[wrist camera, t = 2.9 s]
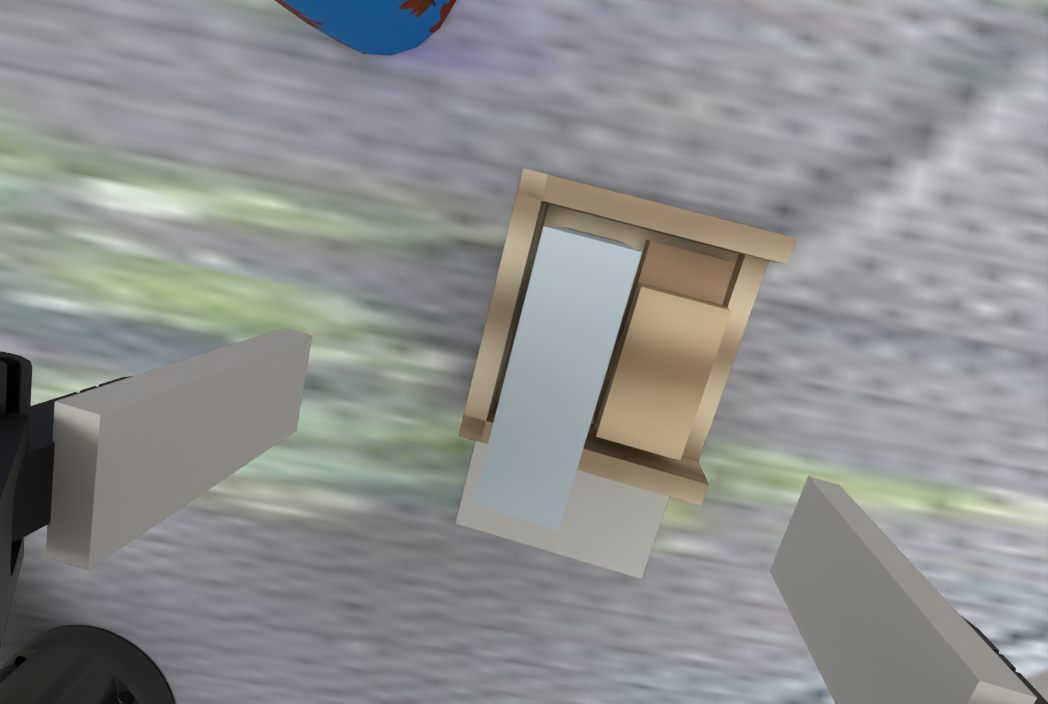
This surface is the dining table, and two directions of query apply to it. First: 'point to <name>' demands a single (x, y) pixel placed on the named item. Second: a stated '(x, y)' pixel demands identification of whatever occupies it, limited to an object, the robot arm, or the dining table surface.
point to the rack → (632, 225)
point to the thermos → (373, 21)
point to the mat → (579, 521)
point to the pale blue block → (555, 373)
